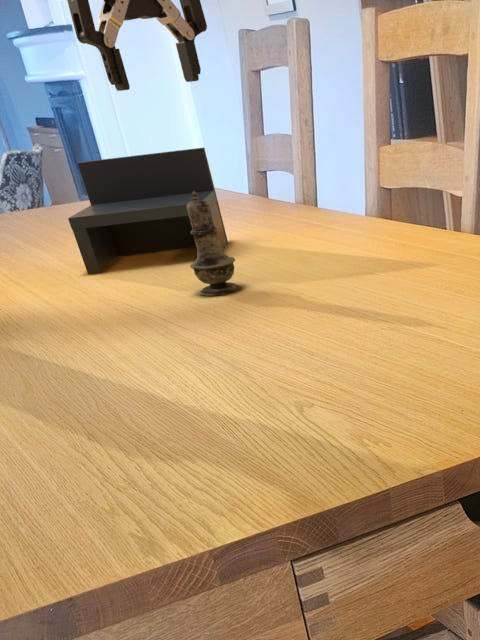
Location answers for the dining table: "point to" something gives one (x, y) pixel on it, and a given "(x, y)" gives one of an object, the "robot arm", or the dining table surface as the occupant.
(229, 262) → the salt shaker
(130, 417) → the dining table surface
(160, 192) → the bench
